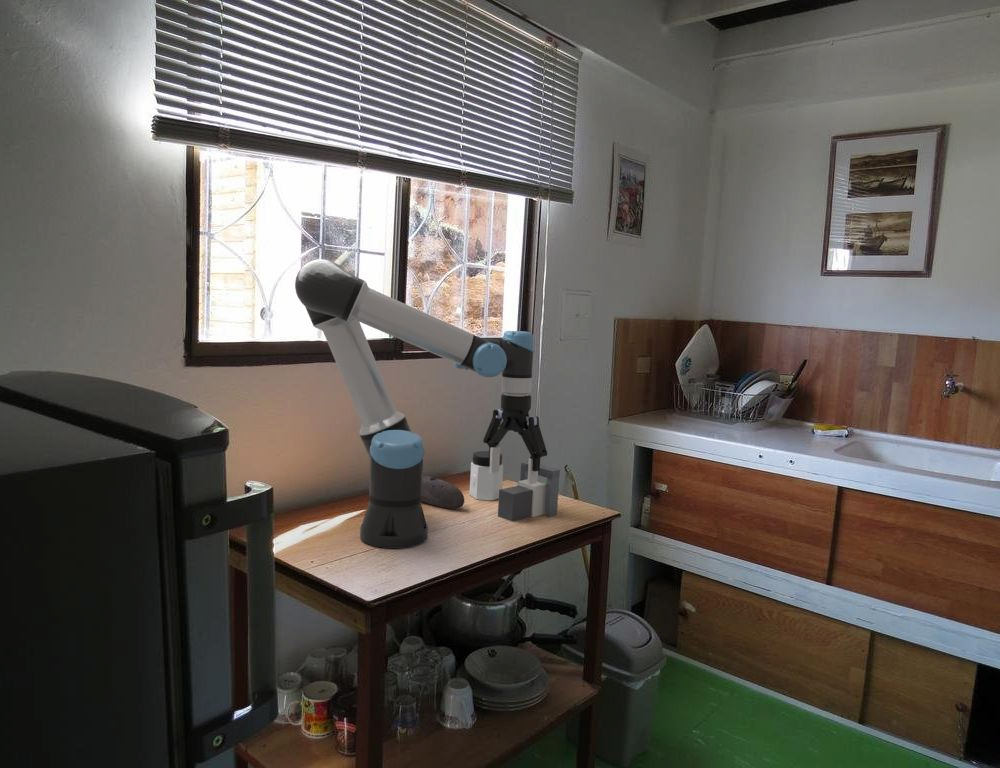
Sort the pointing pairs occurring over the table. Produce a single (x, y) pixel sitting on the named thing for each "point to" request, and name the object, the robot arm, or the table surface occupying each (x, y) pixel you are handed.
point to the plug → (522, 500)
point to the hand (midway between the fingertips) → (512, 477)
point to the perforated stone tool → (441, 493)
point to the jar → (485, 477)
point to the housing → (552, 486)
